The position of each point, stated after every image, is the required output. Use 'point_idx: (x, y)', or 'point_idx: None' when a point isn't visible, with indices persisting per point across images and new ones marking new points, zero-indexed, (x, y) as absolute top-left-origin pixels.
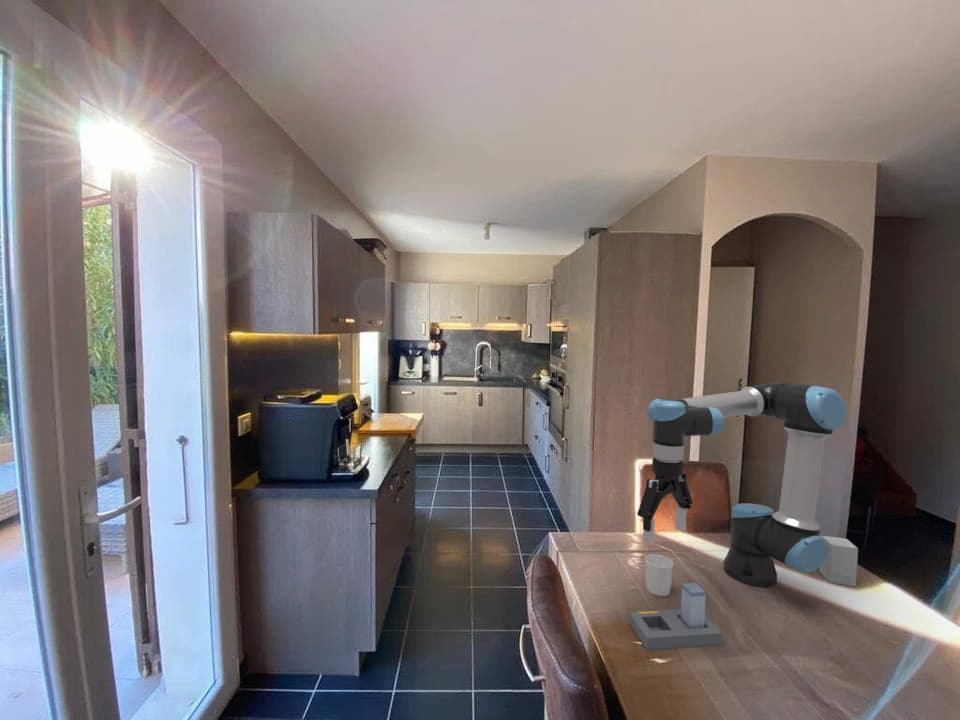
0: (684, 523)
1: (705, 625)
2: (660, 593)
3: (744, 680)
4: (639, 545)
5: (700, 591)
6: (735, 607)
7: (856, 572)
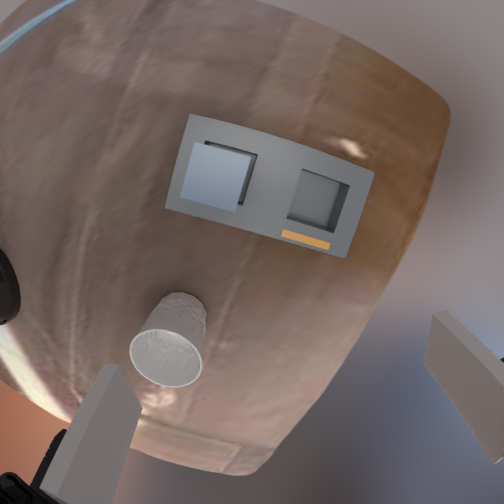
0: (94, 405)
1: None
2: (191, 301)
3: (235, 48)
4: None
5: (210, 150)
6: (65, 214)
7: None
